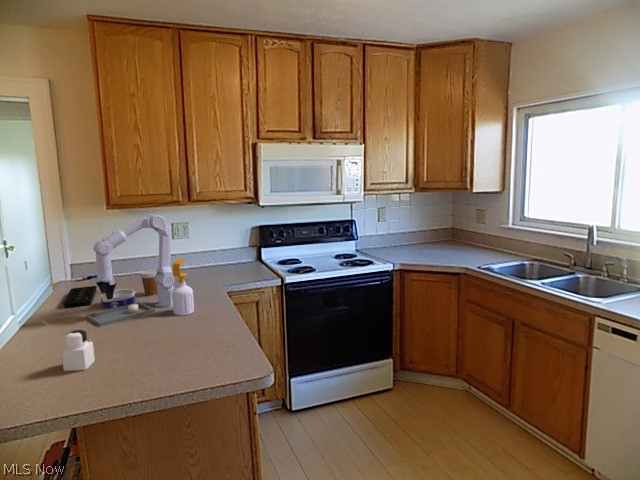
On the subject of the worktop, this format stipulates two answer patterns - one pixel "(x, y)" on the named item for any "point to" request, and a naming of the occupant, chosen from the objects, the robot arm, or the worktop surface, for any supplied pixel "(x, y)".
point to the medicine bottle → (77, 351)
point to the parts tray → (118, 314)
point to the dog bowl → (120, 298)
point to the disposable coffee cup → (149, 282)
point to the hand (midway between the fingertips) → (107, 298)
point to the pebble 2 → (133, 308)
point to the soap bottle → (181, 293)
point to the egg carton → (80, 297)
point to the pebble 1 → (105, 298)
